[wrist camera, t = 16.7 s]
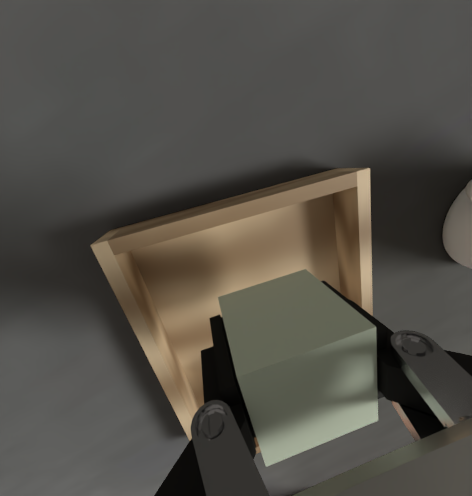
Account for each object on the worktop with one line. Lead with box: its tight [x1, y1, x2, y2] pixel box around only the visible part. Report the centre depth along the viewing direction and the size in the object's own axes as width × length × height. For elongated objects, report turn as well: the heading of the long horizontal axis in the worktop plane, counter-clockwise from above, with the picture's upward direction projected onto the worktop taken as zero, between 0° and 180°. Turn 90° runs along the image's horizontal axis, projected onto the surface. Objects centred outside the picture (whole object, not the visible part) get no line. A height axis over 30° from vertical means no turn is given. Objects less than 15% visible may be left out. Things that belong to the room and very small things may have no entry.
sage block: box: [218, 269, 378, 467], centre depth 10 cm, size 4×4×4 cm
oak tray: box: [90, 168, 373, 454], centre depth 17 cm, size 20×15×3 cm
